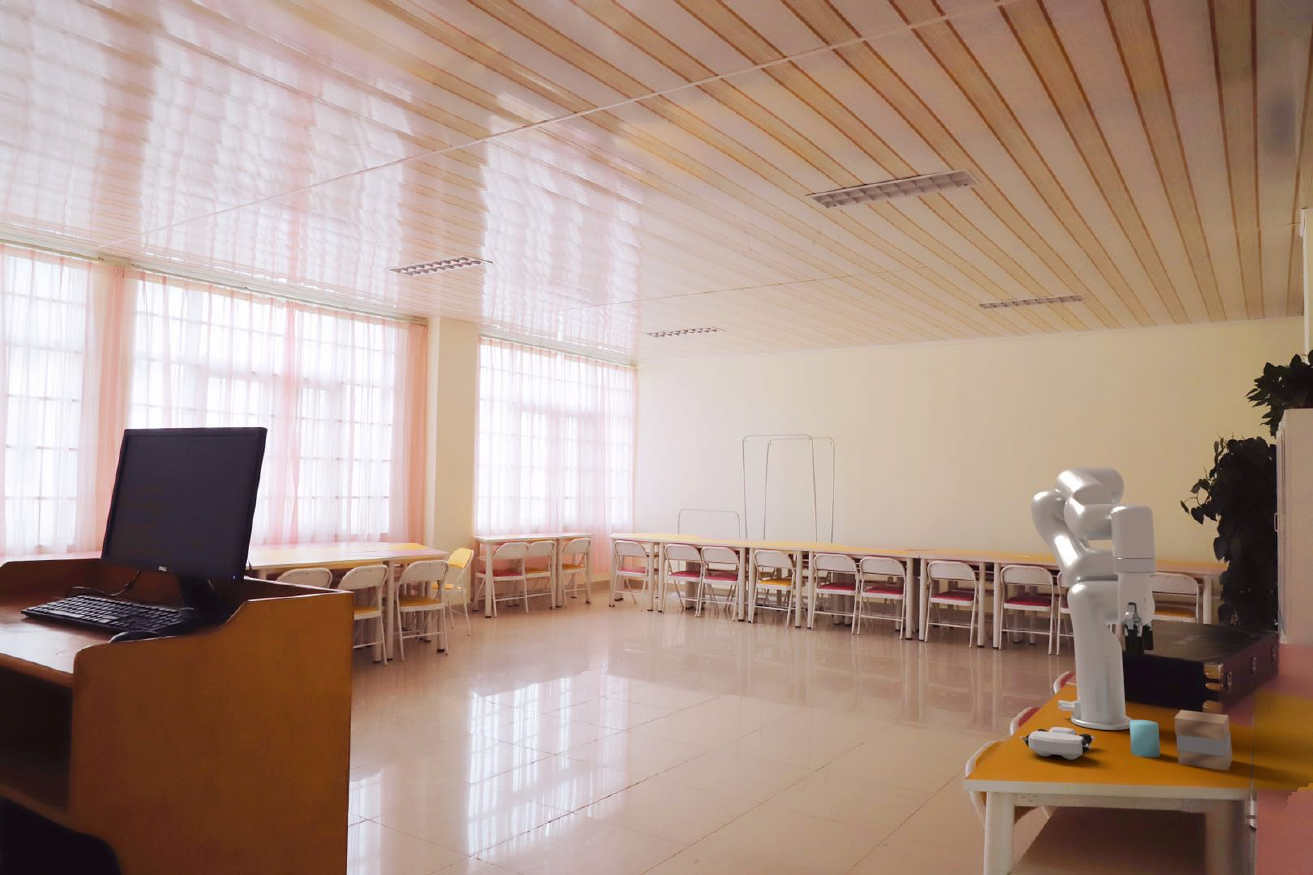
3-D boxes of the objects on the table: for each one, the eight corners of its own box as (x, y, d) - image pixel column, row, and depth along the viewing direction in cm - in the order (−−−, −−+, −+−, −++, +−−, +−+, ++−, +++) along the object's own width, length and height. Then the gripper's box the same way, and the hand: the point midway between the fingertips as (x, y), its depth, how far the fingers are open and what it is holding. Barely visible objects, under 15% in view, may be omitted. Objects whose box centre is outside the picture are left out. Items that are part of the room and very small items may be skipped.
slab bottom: (1178, 766, 170) (1177, 750, 171) (1184, 756, 177) (1183, 741, 177) (1228, 773, 166) (1227, 757, 166) (1232, 763, 172) (1231, 747, 172)
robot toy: (1035, 744, 189) (1019, 757, 177) (1034, 722, 190) (1019, 733, 177) (1099, 752, 182) (1088, 766, 170) (1098, 729, 183) (1087, 741, 171)
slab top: (1175, 733, 171) (1174, 717, 171) (1181, 725, 177) (1180, 709, 178) (1224, 740, 166) (1223, 723, 166) (1229, 731, 173) (1228, 715, 173)
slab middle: (1177, 750, 171) (1176, 734, 171) (1183, 740, 177) (1182, 725, 177) (1226, 756, 166) (1225, 740, 166) (1231, 746, 172) (1230, 731, 173)
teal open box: (1129, 754, 177) (1127, 723, 177) (1134, 748, 181) (1132, 718, 181) (1157, 758, 174) (1155, 727, 174) (1162, 752, 178) (1160, 721, 178)
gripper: (1122, 563, 189) (1128, 645, 188) (1104, 569, 175) (1110, 658, 174) (1163, 564, 184) (1168, 648, 183) (1147, 570, 171) (1153, 661, 170)
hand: (1140, 653), depth 179 cm, fingers open, 9 cm apart
